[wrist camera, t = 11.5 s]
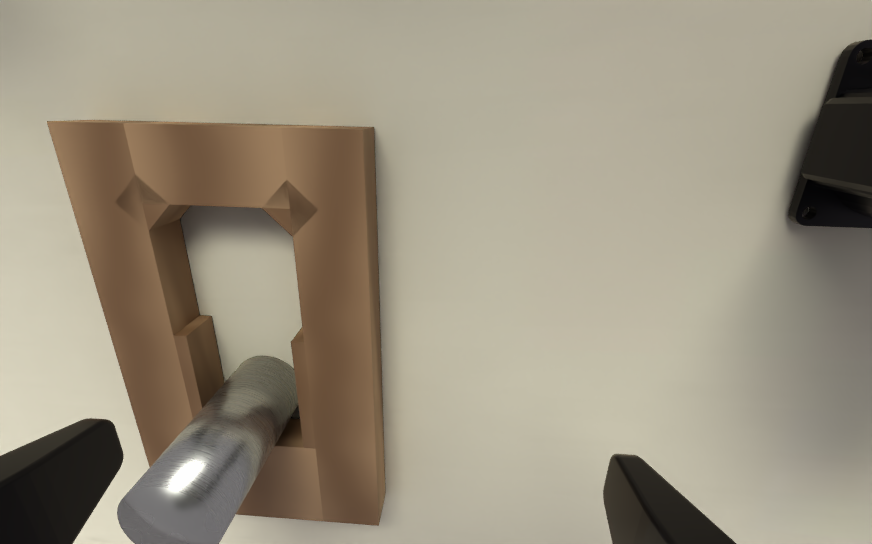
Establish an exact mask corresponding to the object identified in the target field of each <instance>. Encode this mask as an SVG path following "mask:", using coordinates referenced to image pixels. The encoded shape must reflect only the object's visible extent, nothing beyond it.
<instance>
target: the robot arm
mask: <svg viewBox="0 0 872 544" xmlns="http://www.w3.org/2000/svg"><path fill="white" fill-rule="evenodd" d="M859 51H862V53H863V57H862V59H861V61H860V62H859V63H858V62H857V60H856V58H857V55H858V53H859ZM808 207H809V212H808V213H807V214H806V215H805V216H802V214H803V212H804V210H805V209H806V208H808ZM788 216H789V218H790V220H791V221H793V222H795V223H798V224H800V225H805V226H829V227H856V228H872V40H865V41H859V42H854V43H852V44H850V45H849V46H847V47H846V48H845V49H844V50H843V52H842V54H841V56H840V58H839V61H838V64H837V67H836V70H835V73H834V76H833V79H832V82H831V85H830V88H829V91H828V94H827V97H826V100H825V103H824V105H823V107H822V110H821V113H820V116H819V119H818V122H817V125H816V128H815V131H814V134H813V137H812V140H811V143H810V146H809V149H808V152H807V155H806V158H805V161H804V164H803V167H802V171H801V175H800V179H799V182H798V185H797V188H796V191H795V194H794V197H793V200H792V203H791V206H790V209H789V214H788ZM122 462H123V451H122V447H121V444H120V441H119V438H118V435H117V432H116V429H115V426H114V424H113V423H112V422H111V421H110V420H106V419H92V418H90V419H84V420H81V421H79V422H76V423H74V424H72V425H69V426H67V427H65V428H63V429H60V430H58V431H56V432H54V433H51V434H49V435H47V436H44V437H42V438H40V439H38V440H35V441H33V442H31V443H29V444H26V445H24V446H22V447H19V448H17V449H15V450H13V451H10V452H8V453H6V454H4V455H1V456H0V544H73V542H74V540H75V539H76V537H77V536H78V534H79V533H80V531H81V529H82V528H83V526H84V525H85V523H86V521H87V520H88V518H89V517H90V515H91V513H92V512H93V510H94V509H95V507H96V506H97V504H98V502H99V501H100V499H101V498H102V496H103V494H104V493H105V491H106V490H107V488H108V486H109V485H110V483H111V482H112V480H113V479H114V477H115V475H116V474H117V472H118V471H119V469H120V467H121V465H122ZM603 498H604V505H605V510H606V515H607V519H608V524H609V529H610V533H611V538H612V542H613V544H736V543H735V542H734V541H733V540H732V539H731V538H730V537H728V536H727V535H726V534H725V533H724V532H723V531H722V530H721V529H720V528H718V527H717V526H716V525H715V524H714V523H713V522H712V521H711V520H709V519H708V518H707V517H706V516H705V515H704V514H703V513H702V512H701V511H699V510H698V509H697V508H696V507H695V506H694V505H693V504H692V503H691V502H689V501H688V500H687V499H686V498H685V497H684V496H683V495H682V494H680V493H679V492H678V491H677V490H676V489H675V488H674V487H673V486H672V485H670V484H669V483H668V482H667V481H666V480H665V479H664V478H663V477H662V476H660V475H659V474H658V473H657V472H656V471H655V470H654V469H653V468H652V467H650V466H649V465H648V464H647V463H646V462H645V461H644V460H643V459H641V458H640V457H638V456H636V455H627V454H614V455H613V456H612V457H611V459H610V462H609V467H608V471H607V476H606V480H605V485H604V490H603Z"/></svg>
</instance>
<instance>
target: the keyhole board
mask: <svg viewBox="0 0 872 544" xmlns="http://www.w3.org/2000/svg"><path fill="white" fill-rule="evenodd" d="M47 124H48V127H49V130H50V134H51V137H52V141H53V144H54V147H55V151H56V154H57V157H58V161H59V164H60V167H61V171H62V174H63V177H64V181H65V184H66V188H67V191H68V194H69V198H70V201H71V204H72V208H73V211H74V214H75V218H76V221H77V224H78V228H79V231H80V235H81V238H82V241H83V245H84V248H85V251H86V255H87V258H88V261H89V265H90V268H91V272H92V275H93V278H94V282H95V285H96V288H97V292H98V295H99V298H100V302H101V305H102V308H103V312H104V315H105V319H106V322H107V325H108V329H109V332H110V335H111V339H112V342H113V345H114V349H115V352H116V355H117V359H118V362H119V366H120V369H121V372H122V376H123V379H124V382H125V386H126V389H127V392H128V396H129V399H130V402H131V406H132V409H133V413H134V416H135V419H136V423H137V426H138V429H139V433H140V436H141V439H142V443H143V446H144V449H145V453H146V456H147V460H148V463H149V466H150V467H151V466H152V465H153V464H154V463H155V461H156V460H157V459H158V458H159V457H160V456H161V455H162V453H163V452H164V451H165V450H166V449H167V448H168V447H169V446H170V444H171V443H172V442H173V441H174V440H175V439H176V438H177V436H178V435H179V434H180V433H181V432H182V431H183V430H184V429H185V427H186V426H187V425H188V424H189V423H190V422H191V421H192V419H193V418H194V417H195V416H196V415H197V414H198V413H199V411H200V410H201V409H202V408H203V407H204V406H205V405H206V404H207V402H208V401H209V400H210V399H211V398H212V397H213V396H214V394H215V393H216V392H217V391H218V390H219V389H220V388H221V387H222V385H223V384H224V378H223V373H222V368H221V363H220V358H219V353H218V348H217V342H216V337H215V332H214V327H213V322H212V317H211V316H203V315H199V310H198V305H197V300H196V295H195V291H194V286H193V281H192V276H191V271H190V266H189V261H188V257H187V252H186V247H185V242H184V237H183V232H182V227H181V222H180V218H181V217H182V216H183V214H184V213H185V212H186V211H187V209H188V208H189V207H190V206H191V205H198V206H225V207H252V208H262V209H263V210H264V211H265V212H267V213H268V214H269V215H270V216H271V217H272V218H273V219H274V220H275V221H276V222H277V223H278V224H280V225H281V226H282V227H283V228H284V229H285V230H286V231H287V232H288V233H289V234H290V235H291V236H293V243H294V252H295V262H296V271H297V280H298V290H299V299H300V308H301V318H302V328H301V329H300V331H299V332H298V333H297V335H296V336H295V337H294V339H293V340H292V341H291V347H292V355H293V364H294V372H295V380H296V389H297V397H298V405H299V414H300V419H294V418H290V420H289V421H288V423H287V425H286V427H285V428H284V430H283V432H282V434H281V435H280V437H279V439H278V441H277V442H276V444H275V446H274V448H273V449H272V451H271V453H270V455H269V456H268V458H267V460H266V462H265V463H264V465H263V467H262V469H261V470H260V472H259V474H258V476H257V477H256V479H255V481H254V483H253V485H252V486H251V488H250V490H249V492H248V493H247V495H246V497H245V499H244V500H243V502H242V504H241V506H240V507H239V509H238V511H237V513H236V514H238V515H251V516H263V517H276V518H289V519H302V520H314V521H327V522H340V523H352V524H365V525H378V526H379V522H380V517H381V512H382V507H383V503H384V498H385V464H384V431H383V399H382V367H381V334H380V302H379V269H378V237H377V205H376V172H375V140H374V127H346V126H307V125H267V124H228V123H189V122H149V121H110V120H76V121H47Z"/></svg>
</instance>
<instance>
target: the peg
mask: <svg viewBox="0 0 872 544" xmlns="http://www.w3.org/2000/svg"><path fill="white" fill-rule="evenodd" d="M297 406H298V397H297V389H296V380H295V372H294V369H293V368H292V367H291V366H290V365H288V364H287V363H285V362H284V361H282V360H280V359H277V358H274V357H270V356H256V357H252V358H249V359H247V360H246V361H244V362H243V363H242V364H241V365H240V366H239V367H238V368H237V370H236V371H235V372H234V373H233V374H232V375H231V376H230V377H229V379H228V380H227V381H226V382H225V383H224V384H223V385H222V387H221V388H220V389H219V390H218V391H217V392H216V393H215V394H214V396H213V397H212V398H211V399H210V400H209V401H208V402H207V404H206V405H205V406H204V407H203V408H202V409H201V410H200V411H199V413H198V414H197V415H196V416H195V417H194V418H193V419H192V421H191V422H190V423H189V424H188V425H187V426H186V427H185V429H184V430H183V431H182V432H181V433H180V434H179V435H178V436H177V438H176V439H175V440H174V441H173V442H172V443H171V444H170V446H169V447H168V448H167V449H166V450H165V451H164V452H163V453H162V455H161V456H160V457H159V458H158V459H157V460H156V461H155V463H154V464H153V465H152V466H151V467H150V468H149V469H148V470H147V472H146V473H145V474H144V475H143V476H142V477H141V478H140V480H139V481H138V482H137V483H136V484H135V485H134V486H133V487H132V489H131V490H130V491H129V492H128V493H127V494H126V495H125V497H124V498H123V499H122V500H121V502H120V503H119V506H118V511H117V515H118V520H119V523H120V526H121V528H122V529H123V531H124V533H125V534H126V535H127V536H128V537H129V538H130V539H131V541H133V542H134V543H135V544H219V542H220V541H221V539H222V537H223V535H224V534H225V532H226V530H227V528H228V527H229V525H230V523H231V521H232V520H233V518H234V516H235V514H236V513H237V511H238V509H239V507H240V506H241V504H242V502H243V500H244V499H245V497H246V495H247V493H248V492H249V490H250V488H251V486H252V485H253V483H254V481H255V479H256V477H257V476H258V474H259V472H260V470H261V469H262V467H263V465H264V463H265V462H266V460H267V458H268V456H269V455H270V453H271V451H272V449H273V448H274V446H275V444H276V442H277V441H278V439H279V437H280V435H281V434H282V432H283V430H284V428H285V427H286V425H287V423H288V421H289V420H290V418H291V416H292V414H293V413H294V411H295V409H296V407H297Z"/></svg>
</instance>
